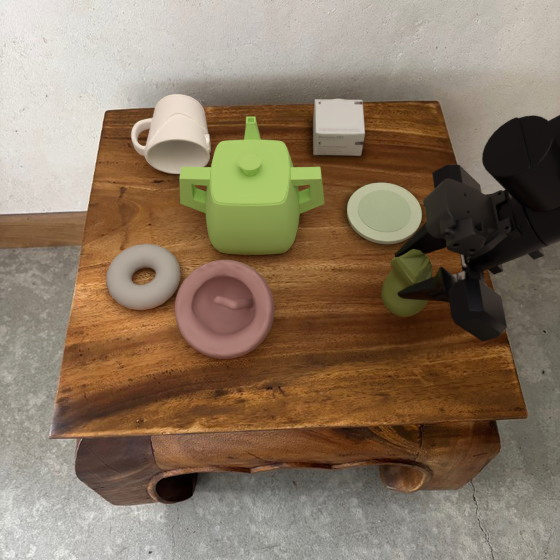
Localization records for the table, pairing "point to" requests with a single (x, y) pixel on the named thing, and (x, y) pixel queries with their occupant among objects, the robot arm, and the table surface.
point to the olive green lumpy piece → (405, 282)
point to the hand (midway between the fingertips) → (398, 276)
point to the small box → (338, 127)
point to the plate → (384, 213)
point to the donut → (150, 292)
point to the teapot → (251, 194)
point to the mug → (175, 135)
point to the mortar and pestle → (224, 309)
